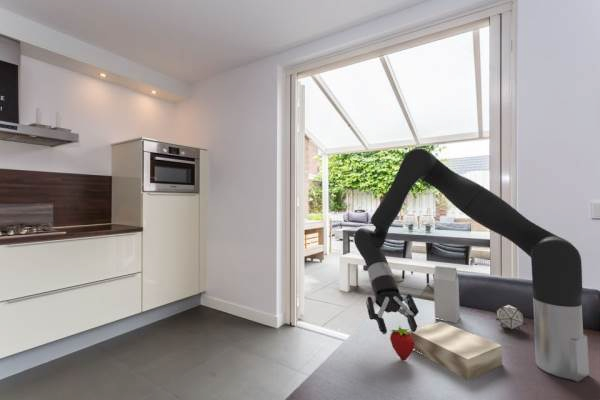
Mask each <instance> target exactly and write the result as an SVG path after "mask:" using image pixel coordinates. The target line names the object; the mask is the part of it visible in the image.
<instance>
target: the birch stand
mask: <svg viewBox="0 0 600 400" xmlns="http://www.w3.org/2000/svg"><path fill="white" fill-rule="evenodd" d="M408 332H410V333H409V334H410V335H411V336H412V337H413V339H414V344H415V345H414V349H415V350H416V351H418V352H420V353H422V354H423V355H422V354H421V355H422V356H424V355H425V356H427V357H428V358H427V357H426V358H427V359H429V358H430V359H429V360H431V359H432V360H431V361H433V362H434V361H435V362H434V363H436V364H439V365H440V366H442V367H444V368H445V369H447V370H449V371H451V372H453V373H455V374H457V375H458V376H459V377H462V378H464V380H467V381H470V380H473V379H474V378H477V377H478V376H479V377H480V376H481V375H483V374H486V373H488V372H489V371H492V370H494V369H496V368H498V367H500V366H503V353H502V352H503V348H502V346H503V345H502V344H500V343H496V342H494V341H492V340H489V339H487V338H484V337H481V336H479V335H477V334H474V333H471V332H468V331H466V330H464V329H461V328H459V327H456V326H453V325H451V324H448V323H445V321H439V322H435V323H432V324H428V325H425V326H422V327H421V326H420V327H419V328H418V327H417V328H416V331H415V332H412V331H411V330H408ZM416 351H415V352H416ZM418 352H417V353H418ZM420 353H419V354H420ZM425 356H424V357H425Z"/></svg>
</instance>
